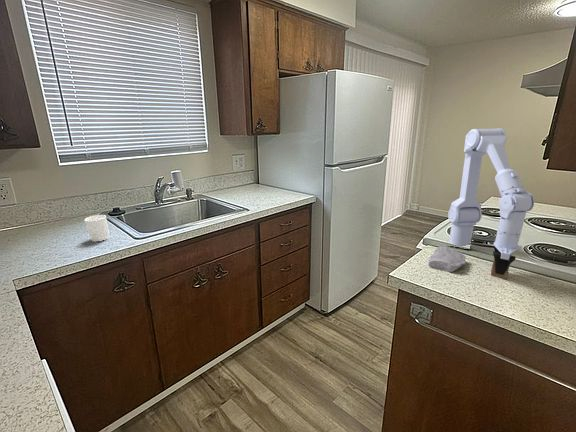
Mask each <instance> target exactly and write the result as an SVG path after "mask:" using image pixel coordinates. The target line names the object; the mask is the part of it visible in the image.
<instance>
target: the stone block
mask: <svg viewBox="0 0 576 432" xmlns="http://www.w3.org/2000/svg"><path fill="white" fill-rule="evenodd" d="M465 263H466V256H465V254H463V253H462V252H461V251H458V250H455V249H453V248H449V247H445V246H444V247H443V246H437V247H436V248H435V249H434V252H433V253H432V254H431V255H430V256H429V259H428V266H429V267H430V268H432V269H437V270H441V271H444V272H448V273H453V272H455V271H457V270H458V269H460V268H461V267H463V266H464V265H465Z"/></svg>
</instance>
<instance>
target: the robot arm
mask: <svg viewBox="0 0 576 432" xmlns="http://www.w3.org/2000/svg"><path fill="white" fill-rule="evenodd" d="M506 142H507V136H506V132H505V130H504V129H503V128H501V127H497V128H473V129H471V130H469V132H468V133H467V134H465V141H464V149H463V152H464V154H465V155H464V160H463V161H464V162H463V170H462V177H461V185H460V192H459V198H457V199H456V200H454V201H452V202H451V203H450V207H449V210H448V211H447V212H448V214H447V217H448V220H449V222H450V223H451V228H450V233H449V237H450V238H449V237H448V239H449V241H450V242H451V243H453V244H455V245H458V246H466V245H470V242H471V241H472V237H473V236H472V235H473V233H474V228H475V227H474V226H477V223H479V222H480V221H481V219H482V216H483V215H482V214H483V213H482V204H481V203H480V201H478V200H477V194H478V188H479V179H480V173H481V166H482V162H483V161H482V159H483V156H485V155H486V154H488V157H489V159H490V161H491V163H492V165H493V167H494V169H495V171H496V175H495V177H494V180H495V183H496V186H497V189H498V192H499V194H500V199H499V200H498V206H499V207H498V208H499V216H500V218H499V223H498V227H497V231H496V235H495V240H494V242H493V250H494V251H492V255H493V259H494V258H495V273H496V274H501V275H504V273H505V272H506V270H507V268H508V266H509V265H510V266H511V264H512V263H513V262H515V260H516V258H517V257H516V256H515V255H512V254H513V253H514V252H516V251H522V250H523V246H522V245H519V242H520V238H521V234H522V230H523V226H524V223H525V218H526V215H527V213H528V212H530V211H532V210H533V209H534V208H533V207H534V205H535V199H534V195H533V194H532V193H530V192H529V191H528V190H527V189H525V188H524V186H523V184H522V181H521V180H520V176H519V174H518V171H517V170H514V169H512V168H511V165H510V161H509V159H508V158H509V157H508V155H507V152H506V148H505V145H506ZM510 266H509V267H510Z"/></svg>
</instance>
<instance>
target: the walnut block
mask: <svg viewBox="0 0 576 432" xmlns="http://www.w3.org/2000/svg"><path fill="white" fill-rule="evenodd" d="M491 265H492V266H491V270H490V271H491V272H490V276H491V277H494V278H495V277H496V278H499V279H504V280H507V277H508V273H509V270H510V266H511V264H510V265H509V266H508V268H507V270H506V272H505V273H504V275H501V274H496V273H495V258H494V257H493V262H492V264H491Z"/></svg>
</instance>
